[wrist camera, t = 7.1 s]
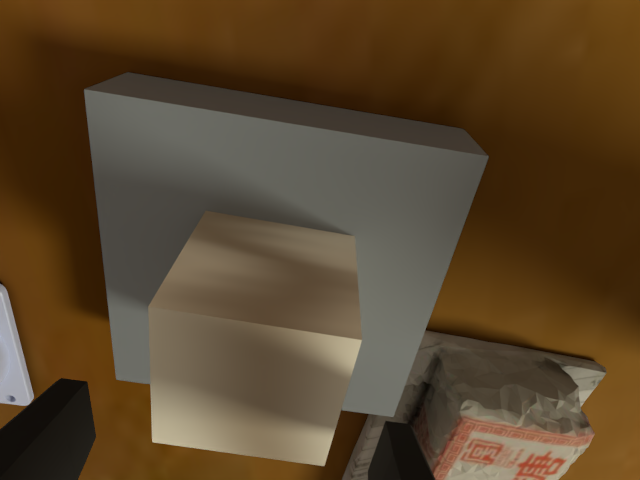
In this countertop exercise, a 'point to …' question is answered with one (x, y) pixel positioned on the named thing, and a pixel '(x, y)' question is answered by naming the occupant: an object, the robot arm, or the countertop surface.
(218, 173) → the gray plinth
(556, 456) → the packaged product
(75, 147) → the countertop surface
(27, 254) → the countertop surface
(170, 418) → the birch block
